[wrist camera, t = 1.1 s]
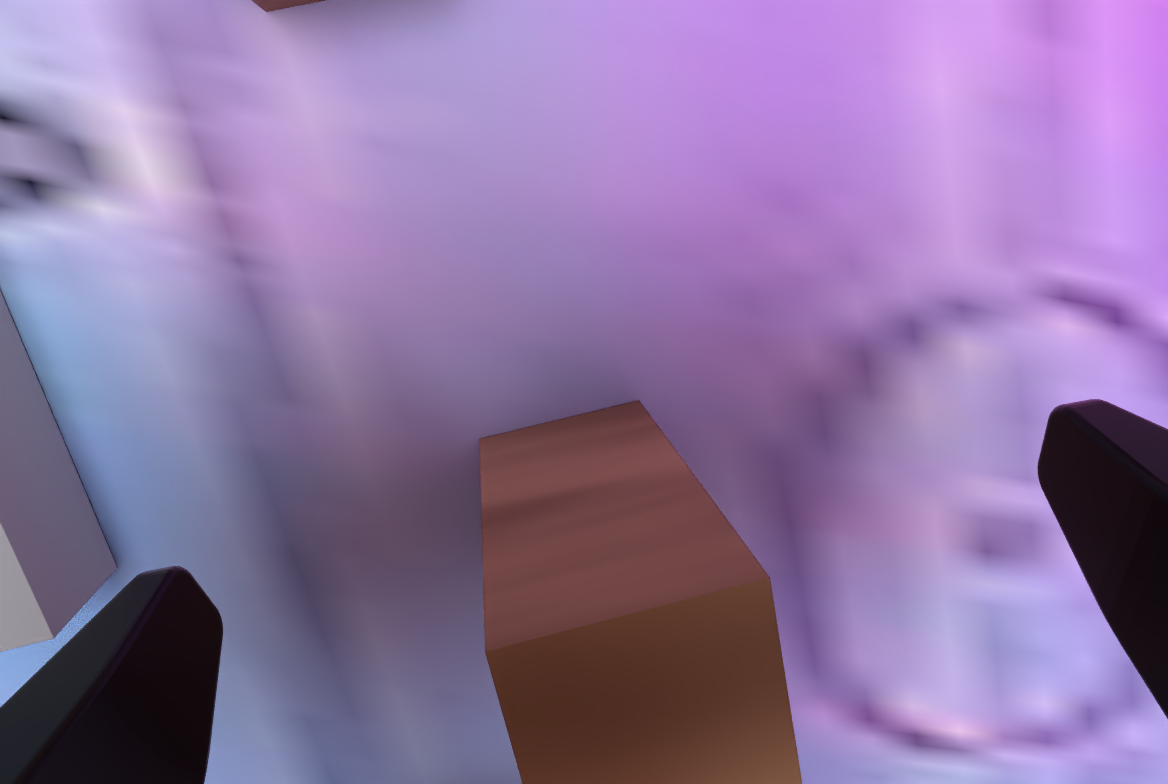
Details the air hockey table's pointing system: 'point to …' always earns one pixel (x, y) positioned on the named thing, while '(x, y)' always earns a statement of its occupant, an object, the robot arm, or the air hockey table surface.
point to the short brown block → (281, 3)
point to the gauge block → (40, 510)
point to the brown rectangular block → (626, 613)
